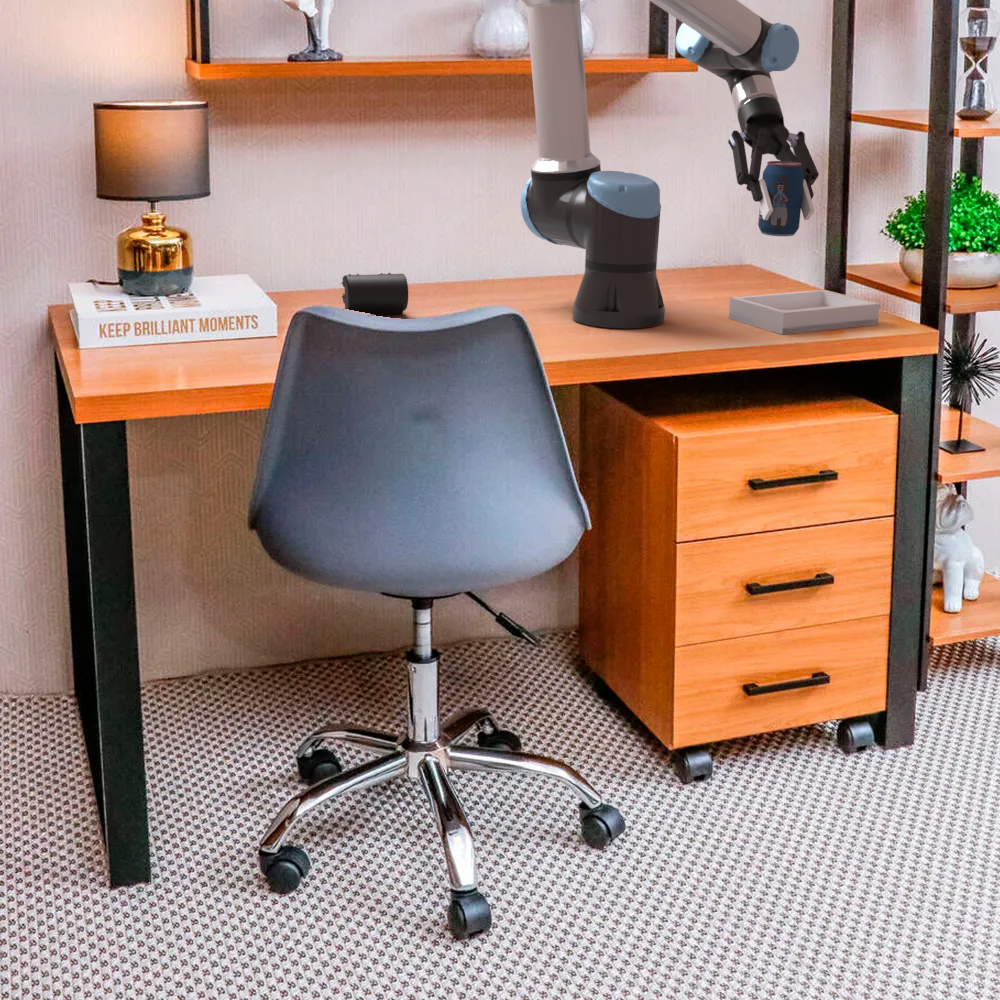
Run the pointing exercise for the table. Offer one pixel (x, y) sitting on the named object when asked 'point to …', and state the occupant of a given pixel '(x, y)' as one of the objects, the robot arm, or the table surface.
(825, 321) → the tray
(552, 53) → the robot arm
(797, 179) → the soda can
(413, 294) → the table surface
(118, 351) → the table surface
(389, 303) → the end cap
